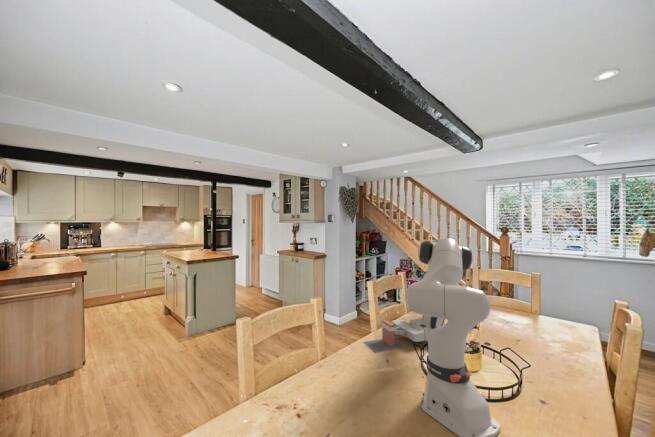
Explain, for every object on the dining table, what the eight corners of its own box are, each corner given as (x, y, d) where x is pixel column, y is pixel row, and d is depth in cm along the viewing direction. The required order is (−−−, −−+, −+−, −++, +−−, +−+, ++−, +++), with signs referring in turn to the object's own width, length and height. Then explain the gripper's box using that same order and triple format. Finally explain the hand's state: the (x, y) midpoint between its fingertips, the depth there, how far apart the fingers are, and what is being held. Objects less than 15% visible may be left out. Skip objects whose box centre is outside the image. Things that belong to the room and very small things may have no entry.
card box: (394, 345, 128) (394, 324, 129) (390, 346, 128) (390, 325, 128) (386, 339, 135) (386, 319, 135) (382, 340, 134) (382, 320, 135)
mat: (406, 347, 127) (406, 347, 127) (375, 353, 121) (375, 352, 121) (392, 338, 138) (392, 337, 138) (363, 342, 132) (363, 342, 132)
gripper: (404, 315, 147) (382, 318, 142) (429, 329, 128) (406, 333, 123) (404, 327, 147) (382, 330, 142) (430, 342, 128) (406, 346, 123)
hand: (393, 331), depth 132 cm, fingers closed
